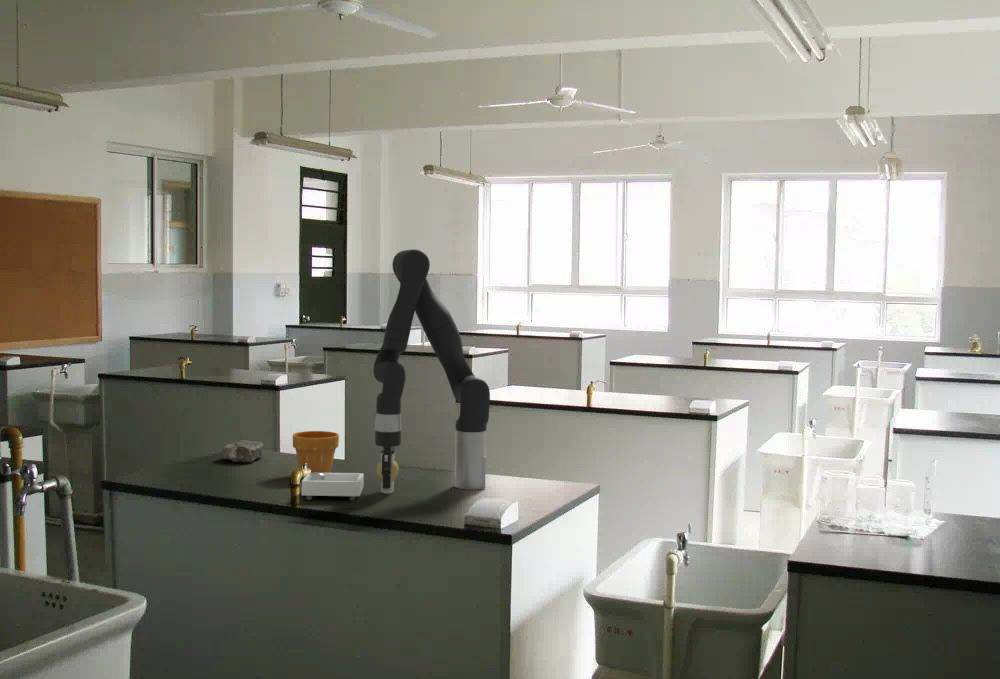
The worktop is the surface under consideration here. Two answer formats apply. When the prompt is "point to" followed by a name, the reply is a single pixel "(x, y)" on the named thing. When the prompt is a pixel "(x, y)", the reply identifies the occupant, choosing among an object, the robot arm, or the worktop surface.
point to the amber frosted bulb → (393, 475)
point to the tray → (334, 485)
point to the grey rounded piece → (317, 476)
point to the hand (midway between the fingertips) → (387, 485)
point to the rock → (243, 451)
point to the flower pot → (316, 449)
